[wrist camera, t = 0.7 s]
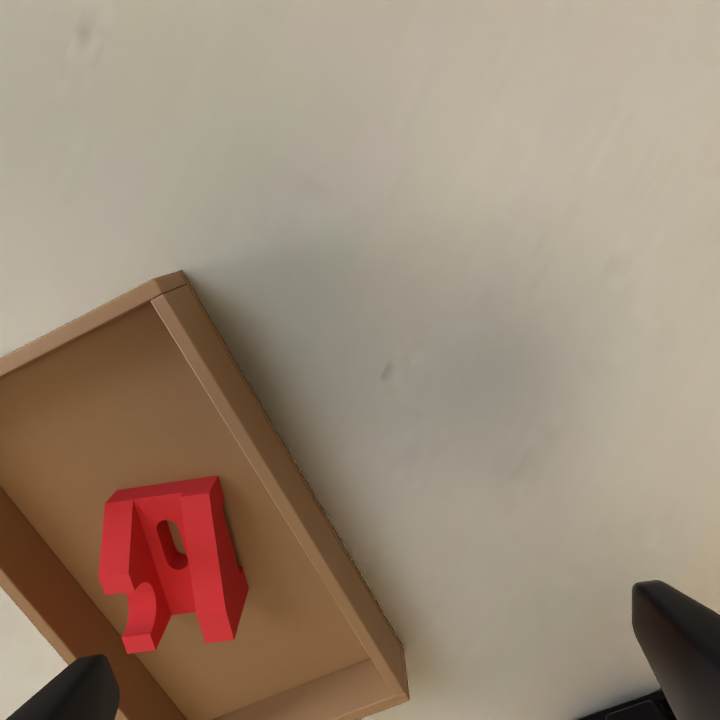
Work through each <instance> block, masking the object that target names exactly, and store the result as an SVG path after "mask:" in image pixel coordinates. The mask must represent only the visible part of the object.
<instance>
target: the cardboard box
mask: <svg viewBox="0 0 720 720" xmlns="http://www.w3.org/2000/svg"><path fill="white" fill-rule="evenodd" d="M212 476H218V477H219V481H220V484H221V488H222V492H223V495H224V499H225V502H224V504H223V506H222V510H223V513H224V517H225V520H226V524H227V528H228V531H229V535H230V539H231V542H232V546H233V550H234V553H235V557H236V561H237V564H238V567H243V569H244V573H245V576H246V580H247V584H248V588H249V590H248V594H247V597H246V601H245V604H244V608H243V611H242V615H241V618H240V622H239V625H238V629H237V632H236V636H235V639H234V640H229V641H221V642H214V643H205V640H204V637H203V633H202V630H201V627H200V624H199V621H198V618H197V614H196V612H193V613H185V614H178V615H172V616H171V618H170V620H169V622H168V625H167V627H166V629H165V631H164V633H163V636H162V638H161V640H160V642H159V644H158V646H157V649H156V650H153V651H146V652H138V653H131V654H127V651H126V649H125V646H124V643H123V641H122V638H121V637H122V635H123V633H124V631H125V628H126V625H127V621H128V613H129V605H128V598H127V595H126V593H118V594H111V595H105V593H104V591H103V588H102V585H101V583H100V580H99V565H100V554H101V542H102V530H103V519H104V507H105V503H106V502H107V501H108V499H109V498H110V497H111V496H112V495H113V494H114V492H115V491H116V490H122V489H129V488H136V487H143V486H150V485H157V484H163V483H170V482H177V481H184V480H191V479H198V478H205V477H212ZM167 522H168V525H169V529H170V532H171V535H172V538H173V541H174V544H175V547H176V549H177V551H179V552H180V553H182V554H186V551H185V548H184V545H183V542H182V539H181V535H180V532H179V529H178V526H177V525H176V524H175V523H174V522H173V521H170V520H167ZM0 586H1V587H2V588H3V590H4V591H5V592H6V593H7V594H8V595H9V597H10V598H11V599H12V600H13V601H14V602H15V604H16V605H17V606H18V607H19V608H20V609H21V611H22V612H23V613H24V614H25V615H26V616H27V618H28V619H29V620H30V621H31V622H32V623H33V625H34V626H35V627H36V628H37V629H38V630H39V632H40V633H41V634H42V635H43V636H44V637H45V639H46V640H47V641H48V642H49V643H50V644H51V646H52V647H53V648H54V649H55V650H56V651H57V653H58V654H59V655H60V656H61V657H62V658H63V660H64V661H65V662H66V663H67V664H68V665H70V664H71V663H72V662H74V661H75V660H76V659H77V658H79V657H82V656H87V655H95V654H104V655H105V656H106V657H107V658H108V660H109V662H110V665H111V667H112V670H113V672H114V675H115V677H116V680H117V682H118V685H119V688H120V703H119V707H118V710H117V714H116V717H115V720H358V719H361V718H364V717H366V716H369V715H372V714H374V713H377V712H380V711H382V710H385V709H388V708H391V707H393V706H396V705H399V704H401V703H404V702H407V701H409V700H410V697H409V689H408V680H407V671H406V662H405V652H404V649H403V647H402V645H401V644H400V642H399V640H398V638H397V637H396V635H395V633H394V632H393V630H392V628H391V627H390V625H389V623H388V621H387V620H386V618H385V616H384V615H383V613H382V611H381V609H380V608H379V606H378V604H377V603H376V601H375V599H374V598H373V596H372V594H371V592H370V591H369V589H368V587H367V586H366V584H365V582H364V581H363V579H362V577H361V575H360V574H359V572H358V570H357V569H356V567H355V565H354V563H353V562H352V560H351V558H350V557H349V555H348V553H347V552H346V550H345V548H344V546H343V545H342V543H341V541H340V540H339V538H338V536H337V534H336V533H335V531H334V529H333V528H332V526H331V524H330V523H329V521H328V519H327V517H326V516H325V514H324V512H323V511H322V509H321V507H320V506H319V504H318V502H317V500H316V499H315V497H314V495H313V494H312V492H311V490H310V488H309V487H308V485H307V483H306V482H305V480H304V478H303V477H302V475H301V473H300V471H299V470H298V468H297V466H296V465H295V463H294V461H293V459H292V458H291V456H290V454H289V453H288V451H287V449H286V448H285V446H284V444H283V442H282V441H281V439H280V437H279V436H278V434H277V432H276V430H275V429H274V427H273V425H272V424H271V422H270V420H269V419H268V417H267V415H266V413H265V412H264V410H263V408H262V407H261V405H260V403H259V402H258V400H257V398H256V396H255V395H254V393H253V391H252V390H251V388H250V386H249V384H248V383H247V381H246V379H245V378H244V376H243V374H242V373H241V371H240V369H239V367H238V366H237V364H236V362H235V361H234V359H233V357H232V355H231V354H230V352H229V350H228V349H227V347H226V345H225V344H224V342H223V340H222V338H221V337H220V335H219V333H218V332H217V330H216V328H215V326H214V325H213V323H212V321H211V320H210V318H209V316H208V315H207V313H206V311H205V309H204V308H203V306H202V304H201V303H200V301H199V299H198V298H197V296H196V294H195V292H194V291H193V289H192V287H191V286H190V284H189V282H188V280H187V279H186V277H185V275H184V274H183V272H182V270H180V271H177V272H174V273H171V274H167V275H164V276H161V277H158V278H154V279H152V280H150V281H148V282H146V283H144V284H142V285H140V286H139V287H137V288H135V289H133V290H131V291H129V292H127V293H125V294H123V295H121V296H119V297H117V298H115V299H113V300H112V301H110V302H108V303H106V304H104V305H102V306H100V307H98V308H96V309H94V310H92V311H90V312H88V313H86V314H85V315H83V316H81V317H79V318H77V319H75V320H73V321H71V322H69V323H67V324H65V325H63V326H61V327H59V328H58V329H56V330H54V331H52V332H50V333H48V334H46V335H44V336H42V337H40V338H38V339H36V340H34V341H32V342H30V343H29V344H27V345H25V346H23V347H21V348H19V349H17V350H15V351H13V352H11V353H9V354H7V355H5V356H3V357H2V358H0Z"/></svg>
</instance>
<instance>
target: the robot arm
mask: <svg viewBox="0 0 720 720" xmlns="http://www.w3.org/2000/svg"><path fill="white" fill-rule="evenodd" d="M632 625H633V630H634V633H635V636H636V638H637V640H638V642H639V644H640V646H641V648H642V650H643V652H644V654H645V656H646V658H647V660H648V662H649V664H650V666H651V668H652V670H653V672H654V674H655V676H656V678H657V680H658V682H659V684H660V686H661V688H662V691H659V692H656V693H653V694H650V695H647V696H645V697H642V698H639V699H636V700H633V701H630V702H627V703H624V704H622V705H619V706H616V707H613V708H610V709H607V710H604V711H602V712H599V713H596V714H593V715H590V716H587V717H584V718H582V719H579V720H720V615H719V614H717V613H716V612H714V611H712V610H711V609H709V608H707V607H706V606H704V605H702V604H700V603H699V602H697V601H695V600H694V599H692V598H690V597H688V596H687V595H685V594H683V593H682V592H680V591H678V590H676V589H675V588H673V587H671V586H670V585H668V584H666V583H664V582H662V581H659V580H652V581H645V582H638V583H635V584H634V585H633V588H632ZM119 703H120V688H119V685H118V682H117V680H116V677H115V675H114V672H113V670H112V667H111V665H110V662H109V660H108V658H107V657H106V656H105V655H104V654H95V655H87V656H82V657H79V658H77V659H76V660H75V661H74V662H72V663H71V664H70V665H69V666H68V667H67V668H65V669H64V670H63V671H62V672H61V673H60V674H58V675H57V676H56V677H55V678H54V679H53V680H51V681H50V682H49V683H48V684H47V685H46V686H44V687H43V688H42V689H41V690H40V691H39V692H37V693H36V694H35V695H34V696H33V697H32V698H30V699H29V700H28V701H27V702H26V703H25V704H23V705H22V706H21V707H20V708H19V709H18V710H16V711H15V712H14V713H13V714H12V715H11V716H9V717H8V718H7V719H6V720H115V717H116V714H117V710H118V707H119Z"/></svg>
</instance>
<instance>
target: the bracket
mask: <svg viewBox="0 0 720 720" xmlns="http://www.w3.org/2000/svg"><path fill="white" fill-rule="evenodd" d="M224 502H225V499H224V495H223V492H222V488H221V484H220V481H219V477H218V476H212V477H205V478H198V479H191V480H184V481H177V482H170V483H163V484H157V485H150V486H143V487H136V488H129V489H122V490H116V491H115V492H114V494H113V495H112V496H111V497H110V498H109V499H108V501H107V502H106V503H105V507H104V519H103V530H102V542H101V554H100V565H99V580H100V583H101V585H102V588H103V591H104V593H105V595H111V594H118V593H126V595H127V598H128V605H129V613H128V621H127V625H126V628H125V631H124V633H123V635H122V637H121V638H122V641H123V643H124V646H125V649H126V651H127V654H131V653H138V652H146V651H153V650H156V649H157V646H158V644H159V642H160V640H161V638H162V636H163V633H164V631H165V629H166V627H167V625H168V622H169V620H170V618H171V616H172V615H178V614H185V613H193V612H196V614H197V618H198V621H199V624H200V627H201V630H202V633H203V637H204V640H205V643H214V642H221V641H229V640H234V639H235V636H236V632H237V629H238V625H239V622H240V618H241V615H242V611H243V608H244V604H245V601H246V597H247V594H248V590H249V588H248V584H247V580H246V576H245V573H244V569H243V567H238V564H237V561H236V557H235V553H234V550H233V546H232V542H231V539H230V535H229V531H228V528H227V524H226V520H225V517H224V513H223V510H222V506H223V504H224ZM167 520H170V521H173V522H174V523H175V524H176V525H177V526H178V529H179V532H180V535H181V539H182V542H183V545H184V548H185V551H186V554H182V553H180V552H179V551H177V549H176V547H175V544H174V541H173V538H172V535H171V532H170V529H169V525H168V522H167Z"/></svg>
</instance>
